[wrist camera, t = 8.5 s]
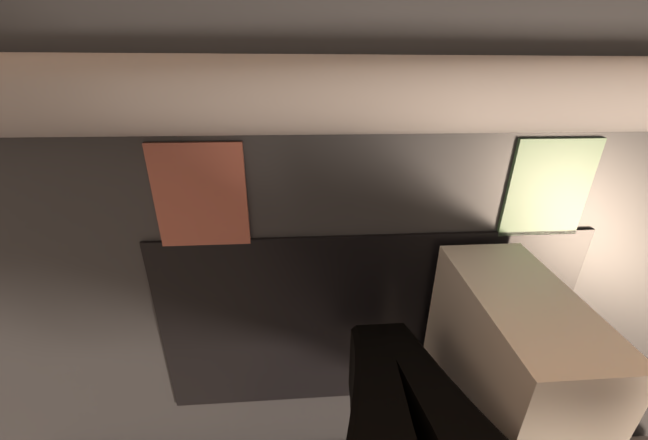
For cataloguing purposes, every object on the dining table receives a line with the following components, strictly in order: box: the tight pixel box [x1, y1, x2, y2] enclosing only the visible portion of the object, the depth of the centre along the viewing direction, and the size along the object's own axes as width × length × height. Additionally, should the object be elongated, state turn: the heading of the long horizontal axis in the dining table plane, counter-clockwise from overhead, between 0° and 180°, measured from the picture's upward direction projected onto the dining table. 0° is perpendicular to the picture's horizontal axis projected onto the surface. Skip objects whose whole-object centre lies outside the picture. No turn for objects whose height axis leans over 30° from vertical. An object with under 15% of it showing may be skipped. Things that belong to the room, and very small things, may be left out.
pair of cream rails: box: [0, 52, 648, 440], centre depth 10 cm, size 13×21×1 cm, turn 90°
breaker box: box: [0, 0, 648, 440], centre depth 12 cm, size 16×24×3 cm, turn 90°
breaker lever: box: [424, 243, 648, 440], centre depth 8 cm, size 5×2×4 cm, turn 0°
